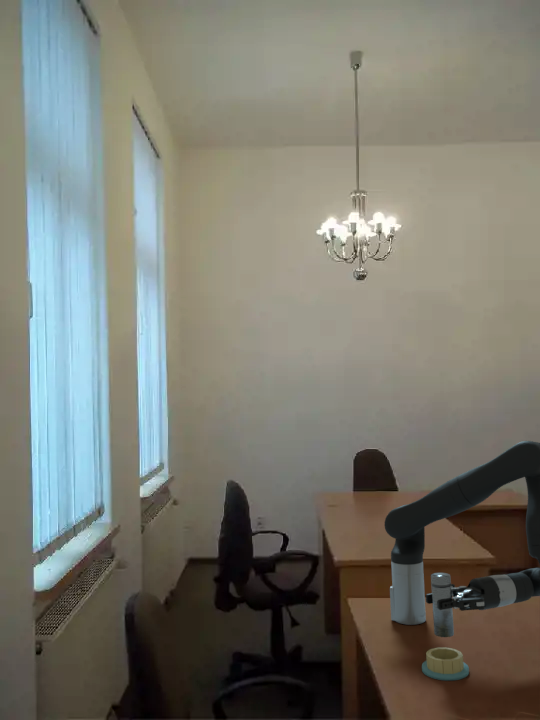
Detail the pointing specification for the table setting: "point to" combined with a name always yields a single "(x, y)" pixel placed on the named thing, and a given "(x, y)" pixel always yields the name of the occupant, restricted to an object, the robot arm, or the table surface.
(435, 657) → the ring collar
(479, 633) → the table surface
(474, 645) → the table surface
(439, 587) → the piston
